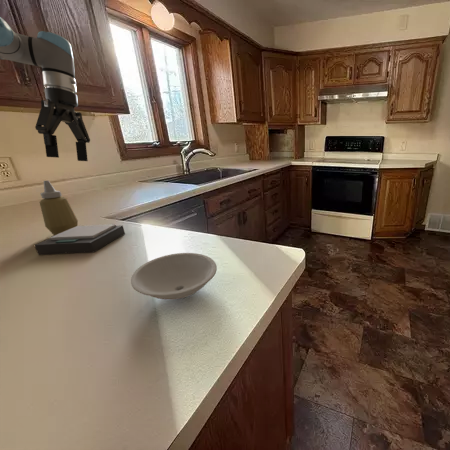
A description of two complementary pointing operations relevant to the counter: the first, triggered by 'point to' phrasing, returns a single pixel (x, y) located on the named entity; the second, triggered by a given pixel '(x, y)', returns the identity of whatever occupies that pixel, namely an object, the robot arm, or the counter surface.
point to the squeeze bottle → (56, 210)
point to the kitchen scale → (80, 239)
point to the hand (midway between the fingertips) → (68, 159)
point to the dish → (174, 275)
